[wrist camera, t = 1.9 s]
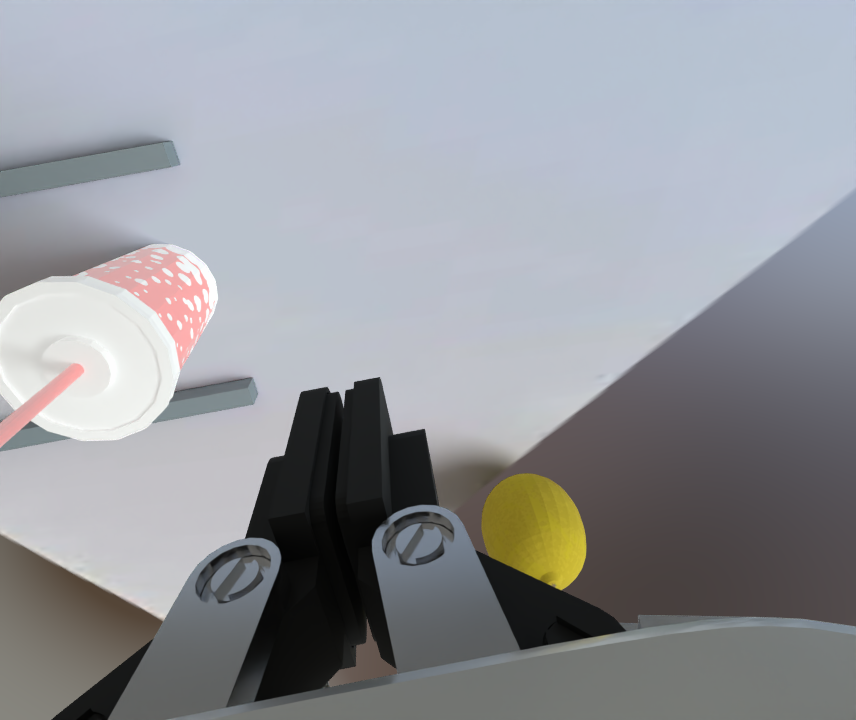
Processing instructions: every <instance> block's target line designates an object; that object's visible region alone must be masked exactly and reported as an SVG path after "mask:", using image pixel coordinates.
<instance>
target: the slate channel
mask: <svg viewBox="0 0 856 720" xmlns="http://www.w3.org/2000/svg"><path fill="white" fill-rule="evenodd" d="M177 165H180V162H179V159H178V157H177V154H176V151H175V148H174V145H173V142H172V141H170V142H162V143H157V144H151V145H145V146H140V147H134V148H129V149H123V150H117V151H112V152H106V153H100V154H95V155H89V156H83V157H78V158H72V159H66V160H61V161H55V162H50V163H44V164H38V165H33V166H27V167H21V168H16V169H10V170H4V171H0V197H6V196H11V195H17V194H23V193H28V192H34V191H40V190H45V189H51V188H56V187H62V186H68V185H73V184H79V183H84V182H90V181H96V180H101V179H107V178H113V177H118V176H124V175H129V174H135V173H141V172H146V171H152V170H158V169H163V168H169V167H173V166H177ZM257 395H258V392H257V389H256V386H255V383H254V380H253V378H248V379H243V380H238V381H232V382H227V383H221V384H216V385H210V386H205V387H200V388H194V389H189V390H183V391H178V392H174V394H173V397H172V398H171V399H170V401H169V404H168V406H167V407H166V408H165V409H164V411H163V412H162V413H161V414H160V415H159V416H158V417H157V418H156V419H155V420H154V421H153V422H152V423H156V422H162V421H167V420H172V419H178V418H183V417H189V416H194V415H199V414H205V413H210V412H216V411H221V410H226V409H232V408H237V407H242V406H248V405H253V404H254V402H255V400H256V398H257ZM65 439H70V437H67V436H63V435H59V434H56V433H52V432H49V431H46V430H45V429H43V428H42V427H40V426H38V425H37V424H35V423H34V422H32V421H30V422H29V423H27V424H26V425H25V426H24V427H23V428H22V429H21V430H20V431H18V432H17V433H16V434H15V435H14V436H13V437H12V438H11V439H9V440H8V441H7V442H6V443H5V444H4V445H3V446H2V447H1V448H0V451H6V450H11V449H16V448H22V447H27V446H32V445H38V444H43V443H49V442H54V441H59V440H65Z"/></svg>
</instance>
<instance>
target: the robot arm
mask: <svg viewBox="0 0 856 720" xmlns="http://www.w3.org/2000/svg"><path fill="white" fill-rule="evenodd" d="M367 619H368V623H369V626H370V629H371V632H372V636H373V639H374V641H376V642H377V645H378V648H379V652H380V655H381V658H382V659H383V660H385V661H386V662H387V663H389V664H390V665H392V666H393V667H394V668H396V669H397V673H398V674H395V675H390V676H385V677H380V678H374V679H369V680H365V681H359V682H354V683H349V684H344V685H339V686H334V687H330V686H329V683H328V681H329V680H330V679H331V678H332V677H333V675H334V674H335V673H336V672H337V671H338V670H339V669H345V668H350V667H355V666H356V645H359V644H364V643H365V642H366V636H367V635H366V634H367ZM52 720H856V627H855V626H848V625H841V624H834V623H827V622H820V621H813V620H806V619H791V618H779V617H725V616H722V617H721V616H720V617H719V616H662V615H661V616H657V615H638V623H618V621H617V620H616V619H615V618H614V617H612V616H611V615H609V614H608V613H606V612H604V611H603V610H601V609H600V608H598V607H595V606H593V605H591V604H589V603H587V602H585V601H583V600H581V599H578V598H576V597H574V596H572V595H570V594H568V593H566V592H563V591H561V590H559V589H557V588H555V587H553V586H551V585H549V584H546V583H544V582H542V581H540V580H538V579H536V578H534V577H532V576H529V575H527V574H525V573H523V572H521V571H519V570H517V569H515V568H512V567H510V566H508V565H506V564H504V563H502V562H500V561H498V560H495V559H493V558H491V557H489V556H487V555H485V554H483V553H480V552H478V551H476V550H475V549H474V547H473V545H472V543H471V540H470V538H469V536H468V534H467V532H466V530H465V527H464V525H463V523H462V522H461V520H460V519H459V518H458V516H457V515H456V514H454V513H453V512H451V511H450V510H448V509H446V508H443V507H439V502H438V497H437V491H436V486H435V480H434V475H433V469H432V464H431V459H430V454H429V448H428V443H427V438H426V433H425V429H421V430H416V431H411V432H406V433H400V434H395V435H393V431H392V427H391V422H390V418H389V413H388V409H387V404H386V400H385V395H384V391H383V386H382V382H381V379H380V377H378V378H373V379H367V380H362V381H357V382H354V389H350V390H346V392H345V401H344V408H343V404H342V400H341V397H340V394H339V392H334V393H330V391H329V389H328V387H324V388H319V389H314V390H308V391H303V392H301V394H300V397H299V401H298V405H297V409H296V413H295V417H294V420H293V424H292V428H291V432H290V436H289V440H288V443H287V447H286V451H285V455H284V456H279V457H274V458H271V459H270V460H269V462H268V464H267V467H266V471H265V474H264V477H263V481H262V484H261V487H260V491H259V494H258V497H257V501H256V504H255V507H254V510H253V514H252V517H251V520H250V524H249V527H248V530H247V534H246V537H245V539H242V540H237V541H234V542H232V543H229V544H227V545H224V546H222V547H221V548H219V549H217V550H216V551H214V552H212V553H211V554H209V555H208V556H207V557H206V558H205V559H204V560H203V561H201V562H200V563H199V564H198V565H197V567H196V568H195V569H194V571H193V572H192V573H191V575H190V576H189V578H188V579H187V581H186V583H185V585H184V586H183V588H182V590H181V592H180V593H179V595H178V597H177V599H176V600H175V602H174V604H173V606H172V608H171V609H170V611H169V613H168V615H167V616H166V618H165V620H164V622H163V623H162V625H161V627H160V629H159V630H158V632H157V634H156V636H155V637H154V639H153V640H151V641H150V642H149V643H147V644H146V645H145V646H143V647H142V648H141V649H140V650H138V651H137V652H136V653H135V654H133V655H132V656H131V657H130V658H128V659H127V660H126V661H125V662H123V663H122V664H121V665H119V666H118V667H117V668H116V669H114V670H113V671H112V672H111V673H109V674H108V675H107V676H106V677H104V678H103V679H102V680H100V681H99V682H98V683H97V684H95V685H94V686H93V687H92V688H90V689H89V690H88V691H87V692H85V693H84V694H83V695H81V696H80V697H79V698H78V699H76V700H75V701H74V702H73V703H71V704H70V705H69V706H68V707H67V708H65V709H64V710H63V711H61V712H60V713H59V714H58V715H56V716H55V717H54V718H53V719H52Z"/></svg>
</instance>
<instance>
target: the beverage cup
mask: <svg viewBox="0 0 856 720" xmlns="http://www.w3.org/2000/svg"><path fill="white" fill-rule="evenodd" d="M217 300H218V294H217V287H216V280H215V279H214V277H213V275H212V274H211V272H210V270H209V268H208V267H207V265H206V264H205V263H204V262H203V261H201V260H200V259H199V258H198V257H197V256H195V255H194V254H193V253H192V252H191V251H188V250H186V249H183V248H180V247H178V246H175V245H172V244H151V245H148V246H146V247H143V248H141V249H138V250H136V251H133V252H131V253H128V254H126V255H123V256H121V257H118V258H116V259H113V260H111V261H108V262H106V263H103V264H101V265H99V266H96V267H94V268H91V269H89V270H86V271H84V272H81V273H79V274H76V275H74V276H51V277H48V278H46V279H43V280H40V281H38V282H35V283H33V284H31V285H28V286H26V287H24V288H21V289H19V290H17V291H14V292H12V293H10V294H8V295H6V296H4V297H3V299H2V300H1V301H0V394H1V395H2V396H3V397H4V398H5V400H6V401H7V402H8V403H9V404H10V405H11V407H12V408H13V409H14V410H15V411H14V412H13V413H12V414H10V415H9V416H8V417H7V418H6V419H4V420H3V421H2V422H1V423H0V448H1V447H2V446H3V445H4V444H5V443H6V442H7V441H8V440H9V439H11V438H12V437H13V436H14V435H15V434H16V433H17V432H18V431H20V430H21V429H22V428H23V427H24V426H25V425H26V424H27V423H29V422H30V421H32V422H34V423H35V424H37V425H38V426H40V427H42V428H43V429H45V430H46V431H49V432H52V433H56V434H59V435H63V436H67V437H70V438H74V439H77V440H81V441H101V440H119V439H121V438H124V437H126V436H129V435H131V434H134V433H136V432H139V431H141V430H144V429H146V428H147V427H148V426H149V425H150V424H151V423H152V422H153V421H154V420H155V419H156V418H157V417H158V416H159V415H160V414H161V413H162V412H163V411H164V409H165V408H166V407H167V406H168V404H169V401H170V399H171V398H172V397H173V394H174V391H175V387H176V384H177V380H178V377H179V373H180V370H181V368H182V367H183V365H184V363H185V361H186V360H187V358H188V356H189V355H190V353H191V351H192V349H193V348H194V346H195V344H196V343H197V341H198V339H199V337H200V336H201V334H202V332H203V331H204V329H205V327H206V325H207V324H208V322H209V320H210V319H211V317H212V315H213V313H214V310H215V307H216V303H217Z"/></svg>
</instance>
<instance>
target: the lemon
mask: <svg viewBox="0 0 856 720" xmlns="http://www.w3.org/2000/svg"><path fill="white" fill-rule="evenodd" d="M482 534H483V538H484V542H485V546H486V549H487V552H488V554H489V556H490V557H491V558H493V559H495V560H498V561H500V562H502V563H504V564H506V565H508V566H510V567H512V568H515V569H517V570H519V571H521V572H523V573H525V574H527V575H529V576H532V577H534V578H536V579H538V580H540V581H542V582H544V583H546V584H549V585H551V586H553V587H555V588H557V589H559V590H562V589H564V588H565V587H567V586H568V585H569V584H570V583H571V582H572V581H573V580H575V578H576V577H577V575H578V574H579V572H580V571H581V569H582V567H583V563H584V560H585V557H586V536H585V531H584V527H583V524H582V521H581V518H580V515H579V512H578V510H577V508H576V506H575V504H574V503H573V501H572V500H571V499H570V497H569V496H568V495H567V494H566V492H565V491H564V490H563V489H562V488H561V487H560V486H559V485H557V484H556V483H554V482H553V481H551V480H550V479H548V478H545V477H543V476H540V475H537V474H529V473H525V474H516V475H513V476H510V477H508V478H506V479H505V480H502V481H501V482H500V483H499V484H498V485H496V486H495V487H494V488H493V490H492V491H491V492H490V494H489V495H488V497H487V499H486V502H485V504H484V507H483V511H482Z"/></svg>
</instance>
